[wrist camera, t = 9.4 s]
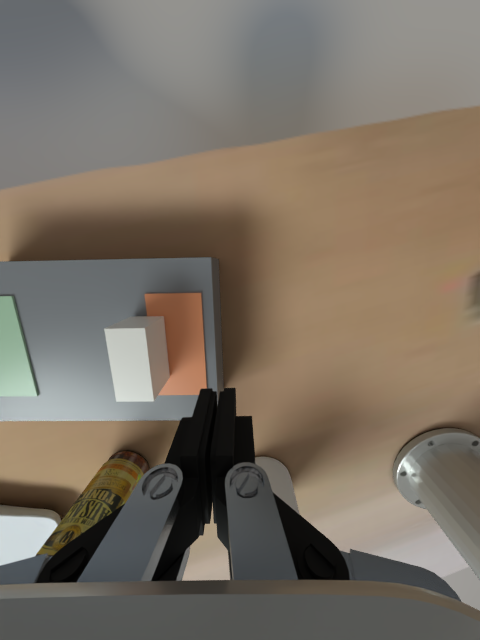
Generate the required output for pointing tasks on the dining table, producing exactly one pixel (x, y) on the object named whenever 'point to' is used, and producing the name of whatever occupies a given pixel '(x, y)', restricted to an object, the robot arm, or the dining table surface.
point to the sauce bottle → (98, 498)
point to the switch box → (89, 336)
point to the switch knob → (138, 358)
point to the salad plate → (24, 531)
